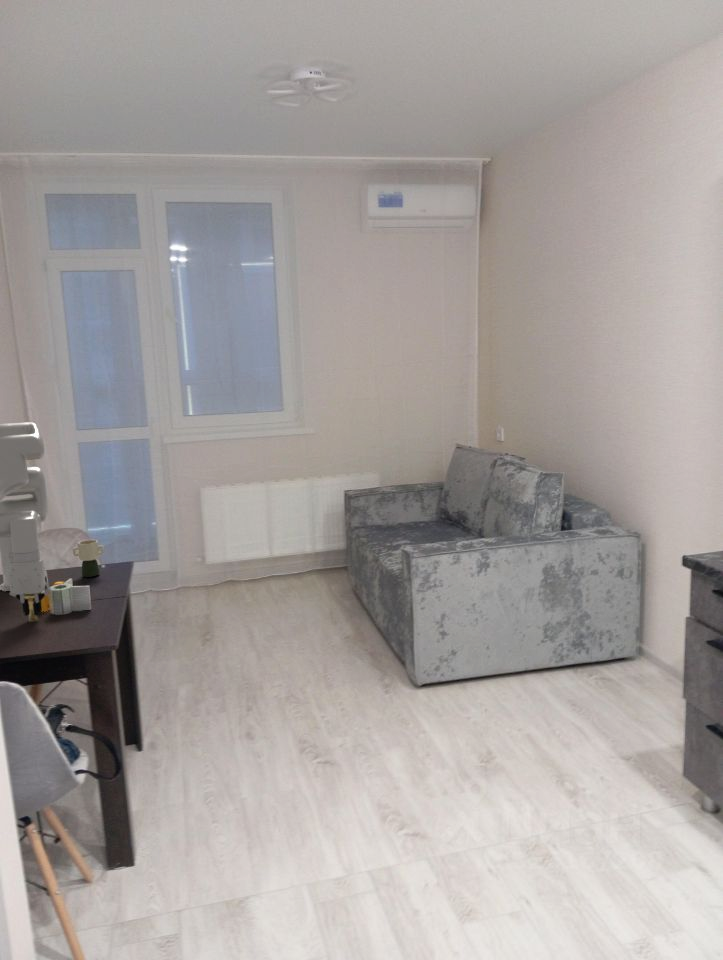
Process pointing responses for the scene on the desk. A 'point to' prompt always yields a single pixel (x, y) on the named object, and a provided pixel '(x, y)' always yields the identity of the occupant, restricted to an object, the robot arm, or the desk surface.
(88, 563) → the character mug
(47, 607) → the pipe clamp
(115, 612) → the desk surface
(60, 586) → the hinge
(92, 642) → the desk surface
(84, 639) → the desk surface
